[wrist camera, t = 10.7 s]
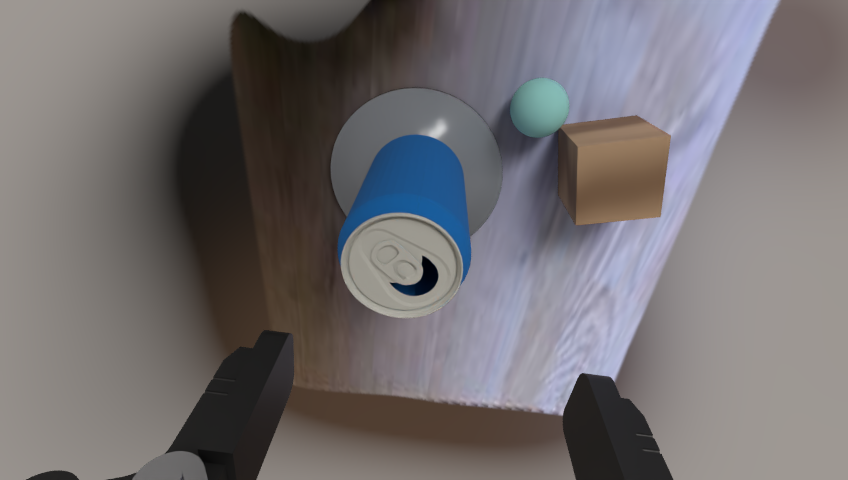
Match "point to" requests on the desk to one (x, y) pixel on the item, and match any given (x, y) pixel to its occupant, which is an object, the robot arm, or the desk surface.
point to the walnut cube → (612, 169)
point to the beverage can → (407, 230)
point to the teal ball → (539, 107)
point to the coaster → (422, 117)
